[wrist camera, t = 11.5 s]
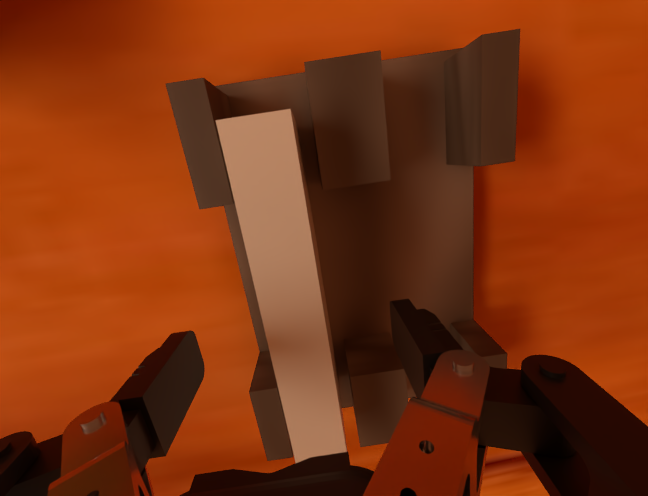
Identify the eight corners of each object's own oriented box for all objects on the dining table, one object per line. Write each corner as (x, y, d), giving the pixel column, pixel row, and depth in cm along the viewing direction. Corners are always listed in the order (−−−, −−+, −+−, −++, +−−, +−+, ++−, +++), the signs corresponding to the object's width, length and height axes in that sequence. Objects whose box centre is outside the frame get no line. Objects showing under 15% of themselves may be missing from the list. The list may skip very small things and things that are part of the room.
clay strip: (301, 383, 20) (297, 472, 15) (250, 134, 16) (215, 120, 10) (338, 378, 20) (348, 465, 15) (298, 126, 16) (290, 108, 10)
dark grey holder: (278, 401, 22) (269, 467, 18) (205, 95, 16) (161, 69, 12) (462, 373, 22) (504, 432, 18) (459, 56, 16) (520, 13, 11)
